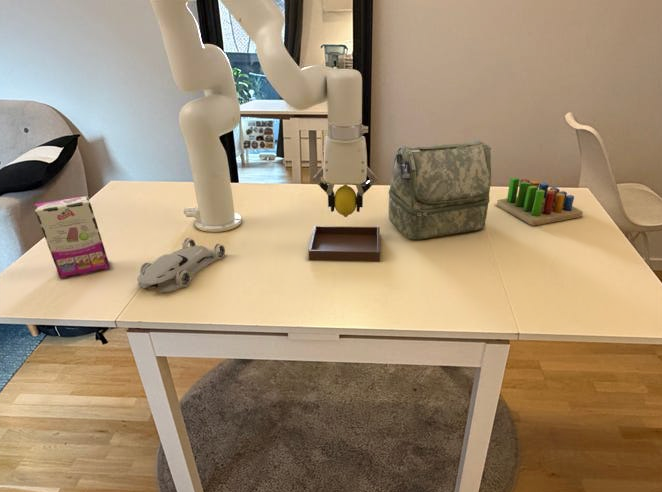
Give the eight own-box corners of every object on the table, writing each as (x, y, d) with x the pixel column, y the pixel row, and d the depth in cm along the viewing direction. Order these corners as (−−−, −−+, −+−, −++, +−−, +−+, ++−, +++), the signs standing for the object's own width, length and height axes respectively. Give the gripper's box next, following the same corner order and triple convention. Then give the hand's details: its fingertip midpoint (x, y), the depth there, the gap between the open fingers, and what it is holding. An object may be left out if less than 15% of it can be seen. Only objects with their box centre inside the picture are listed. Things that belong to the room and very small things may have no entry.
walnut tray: (309, 260, 133) (308, 250, 131) (314, 234, 145) (314, 225, 143) (379, 261, 132) (379, 252, 131) (379, 235, 144) (379, 226, 143)
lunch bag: (404, 245, 139) (409, 158, 126) (379, 219, 153) (381, 138, 140) (493, 232, 146) (507, 148, 133) (462, 208, 160) (472, 130, 147)
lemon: (359, 214, 135) (360, 182, 130) (352, 222, 131) (352, 189, 126) (338, 211, 136) (338, 179, 132) (331, 219, 132) (330, 187, 127)
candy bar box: (108, 261, 132) (88, 194, 122) (111, 269, 128) (91, 201, 119) (58, 270, 128) (33, 202, 118) (59, 279, 124) (34, 210, 114)
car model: (229, 254, 135) (226, 235, 132) (167, 300, 117) (163, 280, 114) (191, 247, 138) (188, 228, 135) (126, 291, 120) (120, 270, 117)
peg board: (582, 217, 155) (590, 187, 150) (532, 226, 149) (539, 196, 144) (543, 197, 168) (549, 169, 162) (495, 205, 162) (500, 176, 157)
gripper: (383, 127, 124) (380, 204, 135) (308, 127, 125) (311, 203, 136) (383, 136, 118) (380, 216, 129) (304, 135, 119) (308, 215, 130)
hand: (345, 209), depth 132 cm, fingers closed on lemon, 5 cm apart
